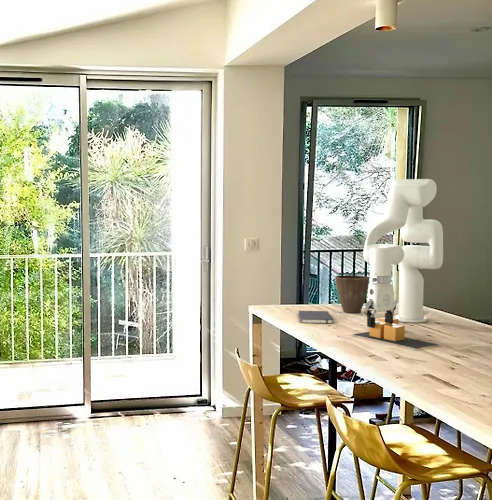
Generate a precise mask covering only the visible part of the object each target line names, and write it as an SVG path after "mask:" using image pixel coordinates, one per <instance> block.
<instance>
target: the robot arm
mask: <svg viewBox="0 0 492 500" xmlns="http://www.w3.org/2000/svg"><path fill="white" fill-rule="evenodd" d="M437 189H438V188H437V183H436V181H434V180H433V179H431V178H415V179H413V178H409V179H408V178H407V179H405V178H403V179H396V180H393V181H392V182H391V184H390V186H389V191H388V194H387V198H386V204H385V208H384V213H383V217H382V219H381V220H380V221H379V222H378V223H376V224H375V225H374V226H373V227H372V228H371V229H370V231H368V233H367V235H366V238H365V241H364V242H365V243H364V245H363V246H364V247H363V251H362V252H363V253H362V254H363V259H364V261H365V262H366V263H368V264H369V277H370V279H369V285H368V290H367V301H366V303H364V304H363V307H362V310H363V313H364V314H365V317H366V327H367V328H370V327H371V328H375V322H376V317H375V315H376V314H377V313H381V312H384V318H385V322H386V323H390V324H393V318H396V319H399V322H401V323H411V324H412V323H413V324H420V323H426V322H428V318H427V317H425V315H429V314H430V310H429V309H424V290H425V289H424V288H425V287H424V284H425V281H424V277H423V274H421V272H420V271H419V270H438V269H440V268H441V267H442V266H443V262H444V229H443V225H442V223H441V222H440V221H439V220H436V219H424V216H423V215H424V213H423V212H424V207H426V206H428V205H429V204H430V203H431V202H432V201H433V200H434V199H435V197H436V194H437ZM397 230H400V236H401V240H402V241H404V242H406V243H416V244H419V243H420V244H428V245H416V244H415V245H414V244H413V245H409V244H408V245H403V246H401V245H398V244H386V243H377V242H378V240H379V239H381V238H382V237H384V236H386V235H388V234H390V233H392V232H395V231H397ZM392 265H398V300H396V299H395V289H394V284H393V283H392V270H393V269H392ZM397 304H398V313H397V314H398V315H394V314H395V311H396V309H397V308H396V306H397Z"/></svg>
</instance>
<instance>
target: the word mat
mask: <svg viewBox="0 0 492 500" xmlns="http://www.w3.org/2000/svg"><path fill="white" fill-rule="evenodd" d="M352 336H357V337H362V338H366V339H371V340H375V341H380V342H385V343H387V344H388V343H389V344H392V345H397V346H402V347H407V348H411V349H415V350H418V349H423V348H428V347H429V348H430V347H435V346H438V345H440V344H439V343H435V342H430V341H424V340H420V339H414V338H410V337H405V336H404V340H399V341H392V340H387V339H384V338H378V337H373V336H369V331H365V332H359V333H353V334H352Z"/></svg>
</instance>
